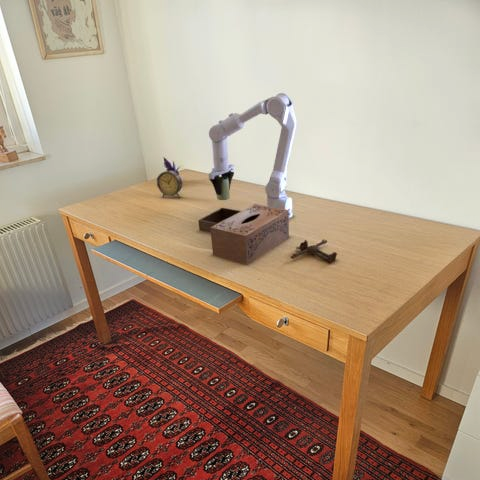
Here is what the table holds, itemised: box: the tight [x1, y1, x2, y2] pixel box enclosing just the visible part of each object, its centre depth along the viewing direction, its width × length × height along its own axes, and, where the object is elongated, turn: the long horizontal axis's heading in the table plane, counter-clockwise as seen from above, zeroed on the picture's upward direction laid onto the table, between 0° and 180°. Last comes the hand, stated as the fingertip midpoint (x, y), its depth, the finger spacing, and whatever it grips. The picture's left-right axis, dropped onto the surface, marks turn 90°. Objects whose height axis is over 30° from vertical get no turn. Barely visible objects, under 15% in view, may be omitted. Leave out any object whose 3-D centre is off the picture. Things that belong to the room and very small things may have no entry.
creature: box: [156, 157, 181, 180], centre depth 222 cm, size 9×18×12 cm, turn 140°
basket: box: [197, 207, 242, 234], centre depth 170 cm, size 14×15×4 cm
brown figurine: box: [290, 238, 338, 264], centre depth 145 cm, size 18×4×14 cm
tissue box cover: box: [210, 203, 290, 266], centre depth 153 cm, size 26×14×10 cm, turn 144°
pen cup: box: [216, 176, 231, 201], centre depth 178 cm, size 5×5×8 cm
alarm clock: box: [156, 160, 183, 198], centre depth 202 cm, size 11×5×16 cm, turn 73°
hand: (223, 192), depth 179 cm, fingers closed on pen cup, 5 cm apart
